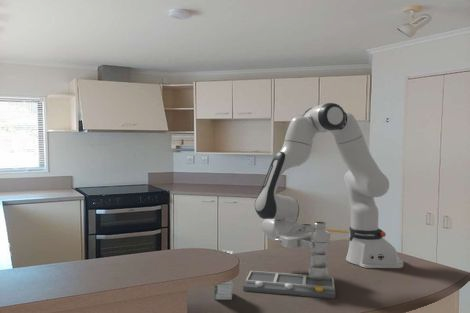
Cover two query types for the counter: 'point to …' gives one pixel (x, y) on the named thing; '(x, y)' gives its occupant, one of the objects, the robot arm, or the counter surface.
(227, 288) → the syrup box
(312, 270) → the plastic bottle
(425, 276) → the counter surface
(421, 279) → the counter surface
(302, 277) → the board
